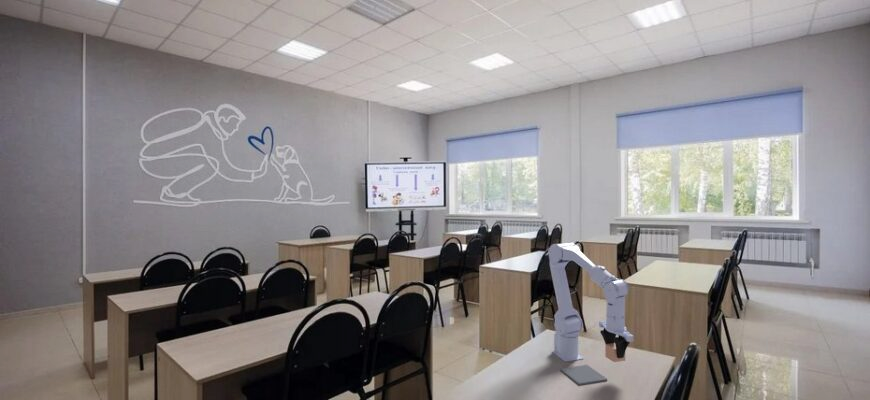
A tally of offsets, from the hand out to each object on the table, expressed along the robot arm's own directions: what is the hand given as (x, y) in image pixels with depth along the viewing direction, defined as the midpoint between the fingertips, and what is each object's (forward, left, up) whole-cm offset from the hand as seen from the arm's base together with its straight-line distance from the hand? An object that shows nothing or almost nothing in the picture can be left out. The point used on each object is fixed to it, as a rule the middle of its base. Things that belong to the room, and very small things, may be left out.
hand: (615, 354), depth 137 cm
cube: (0, 0, -1) cm, 1 cm away
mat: (-5, -9, -8) cm, 13 cm away
